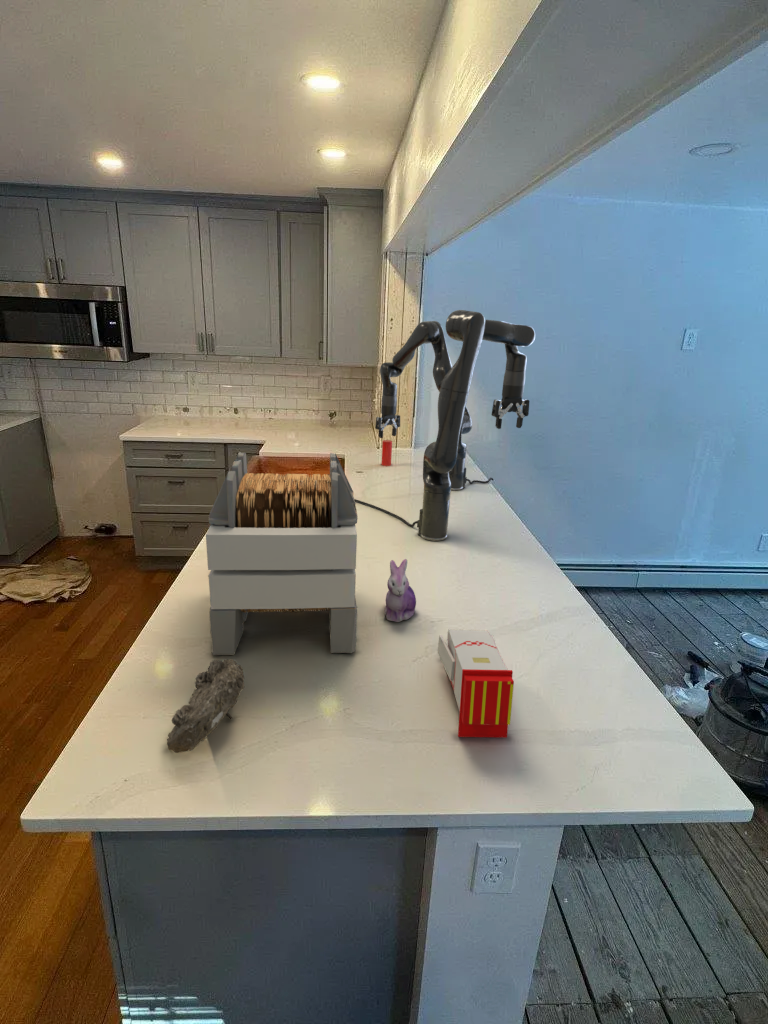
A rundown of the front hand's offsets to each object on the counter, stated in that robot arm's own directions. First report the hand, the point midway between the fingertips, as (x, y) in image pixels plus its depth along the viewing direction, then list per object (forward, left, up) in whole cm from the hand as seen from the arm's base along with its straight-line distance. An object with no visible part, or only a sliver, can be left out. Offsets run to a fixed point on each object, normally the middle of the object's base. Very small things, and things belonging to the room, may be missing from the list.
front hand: (508, 428), depth 209 cm
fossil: (+6, -142, -35) cm, 146 cm away
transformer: (-9, -106, -35) cm, 112 cm away
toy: (+41, -104, -35) cm, 117 cm away
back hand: (-77, +33, -21) cm, 86 cm away
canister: (-77, +33, -35) cm, 90 cm away
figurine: (+12, -87, -35) cm, 94 cm away
